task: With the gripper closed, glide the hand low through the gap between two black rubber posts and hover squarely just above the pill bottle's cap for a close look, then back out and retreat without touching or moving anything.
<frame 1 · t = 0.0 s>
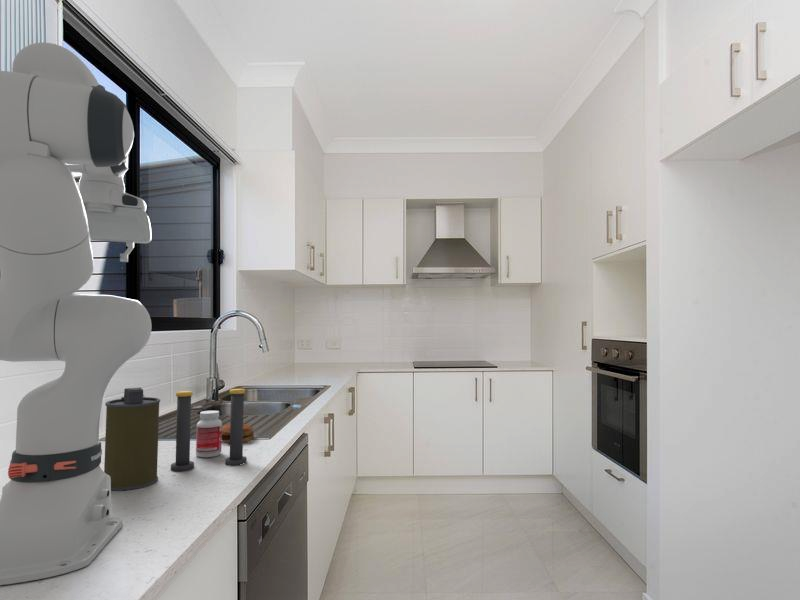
hand: (99, 260, 109), 48 cm above the worktop, fingers open, 8 cm apart
post right: (235, 462, 120), on the worktop
canister: (130, 483, 105), on the worktop
burger: (236, 441, 142), on the worktop
post left: (182, 468, 115), on the worktop
pill bottle: (208, 455, 126), on the worktop
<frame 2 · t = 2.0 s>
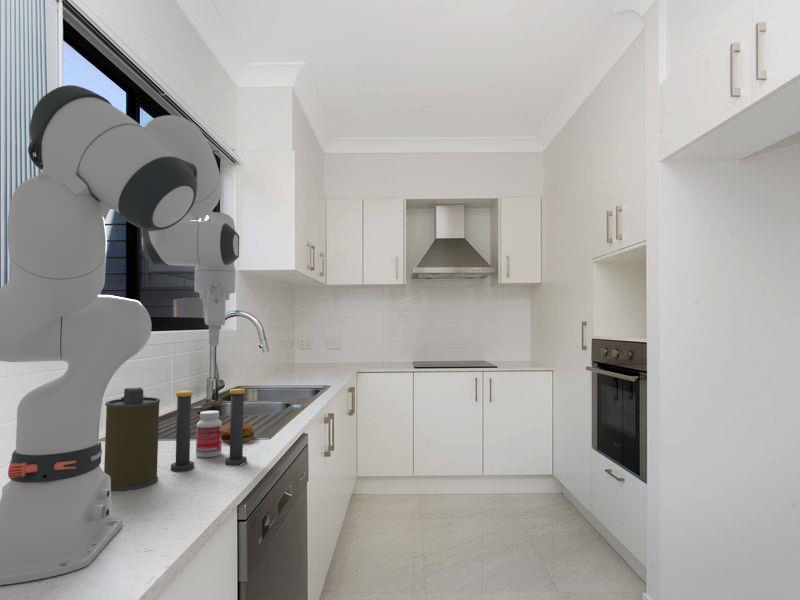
hand: (213, 345, 111), 29 cm above the worktop, fingers open, 3 cm apart
nothing on the worktop moved.
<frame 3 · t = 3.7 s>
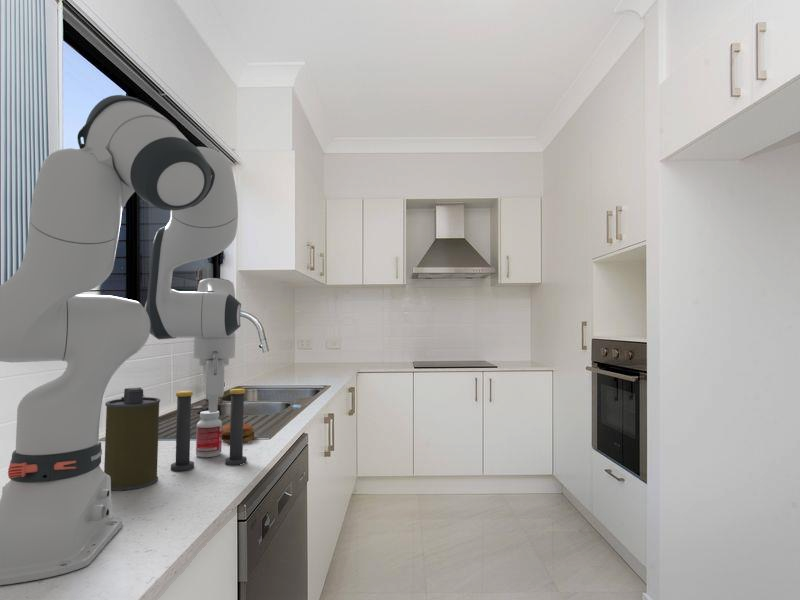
hand: (212, 411, 111), 14 cm above the worktop, fingers closed
nothing on the worktop moved.
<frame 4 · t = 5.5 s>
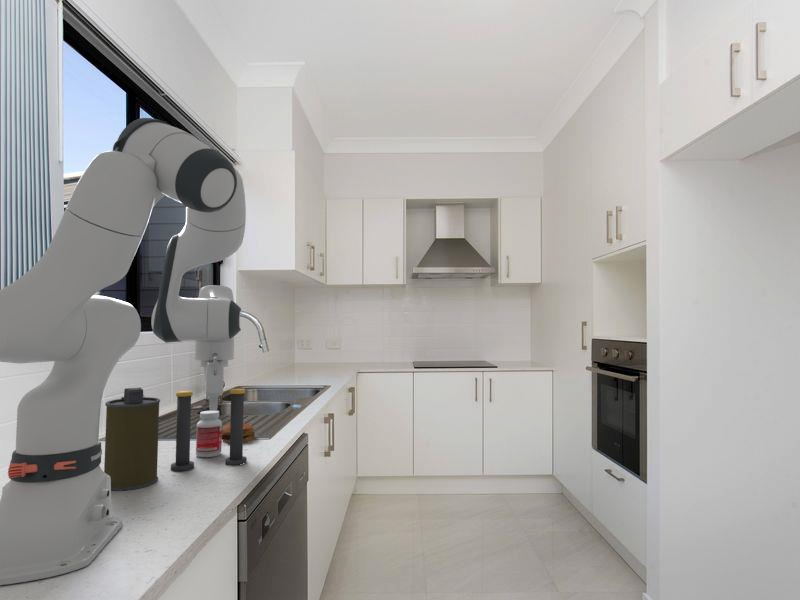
hand: (213, 409, 118), 13 cm above the worktop, fingers closed
nothing on the worktop moved.
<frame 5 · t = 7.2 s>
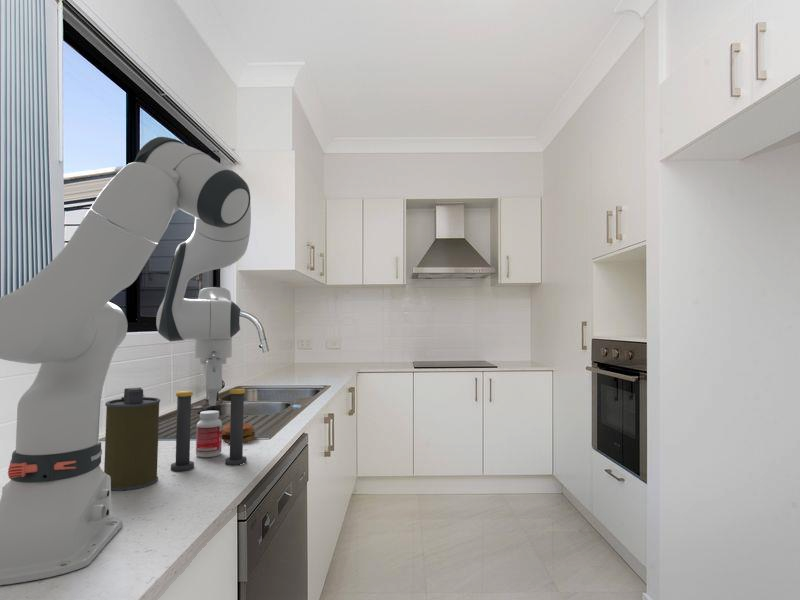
hand: (212, 404, 125), 13 cm above the worktop, fingers closed
nothing on the worktop moved.
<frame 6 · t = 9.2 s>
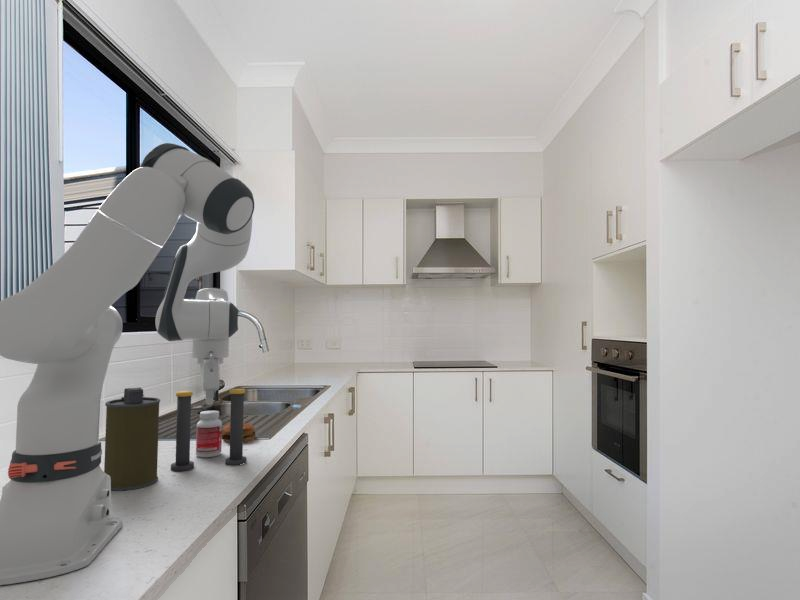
hand: (209, 404, 127), 13 cm above the worktop, fingers closed
nothing on the worktop moved.
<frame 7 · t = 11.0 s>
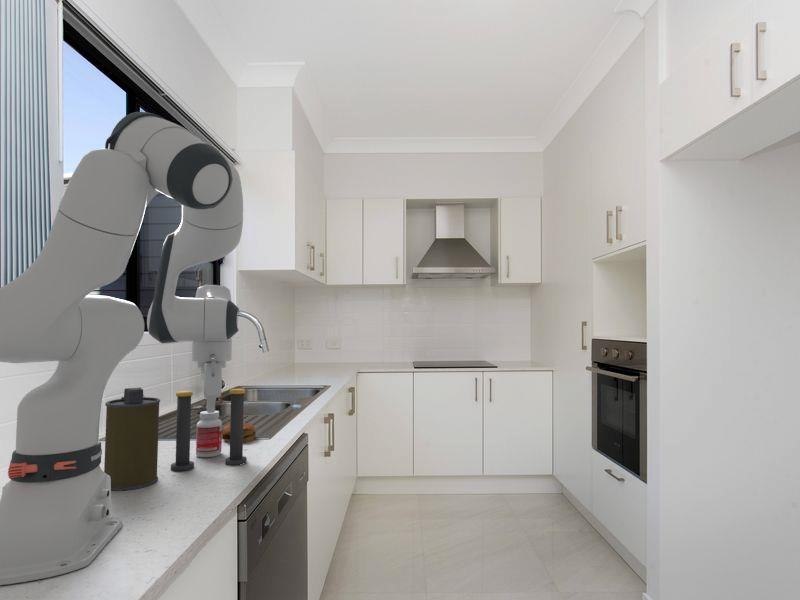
hand: (210, 411, 116), 13 cm above the worktop, fingers closed
nothing on the worktop moved.
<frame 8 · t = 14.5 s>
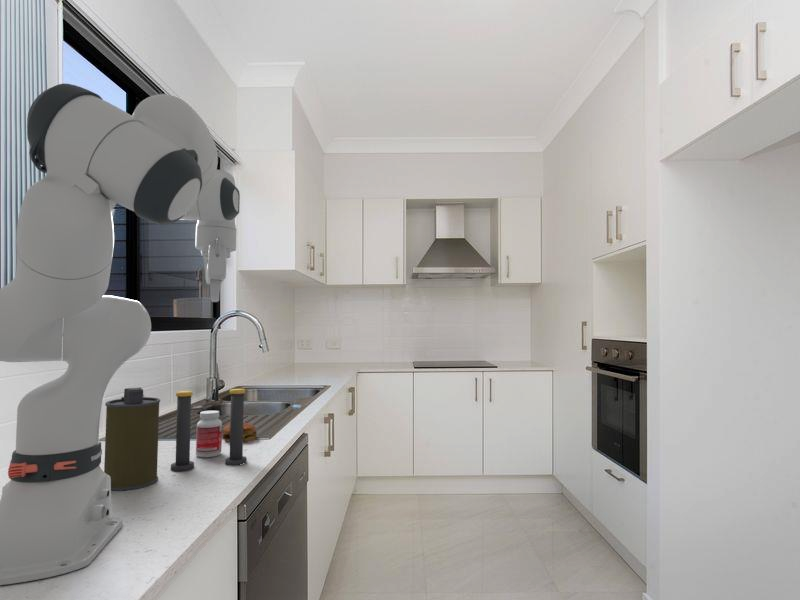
hand: (214, 301, 113), 39 cm above the worktop, fingers closed
at the end: pill bottle moved 0.2 cm from its start; post left moved 0.0 cm from its start; post right moved 0.0 cm from its start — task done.
